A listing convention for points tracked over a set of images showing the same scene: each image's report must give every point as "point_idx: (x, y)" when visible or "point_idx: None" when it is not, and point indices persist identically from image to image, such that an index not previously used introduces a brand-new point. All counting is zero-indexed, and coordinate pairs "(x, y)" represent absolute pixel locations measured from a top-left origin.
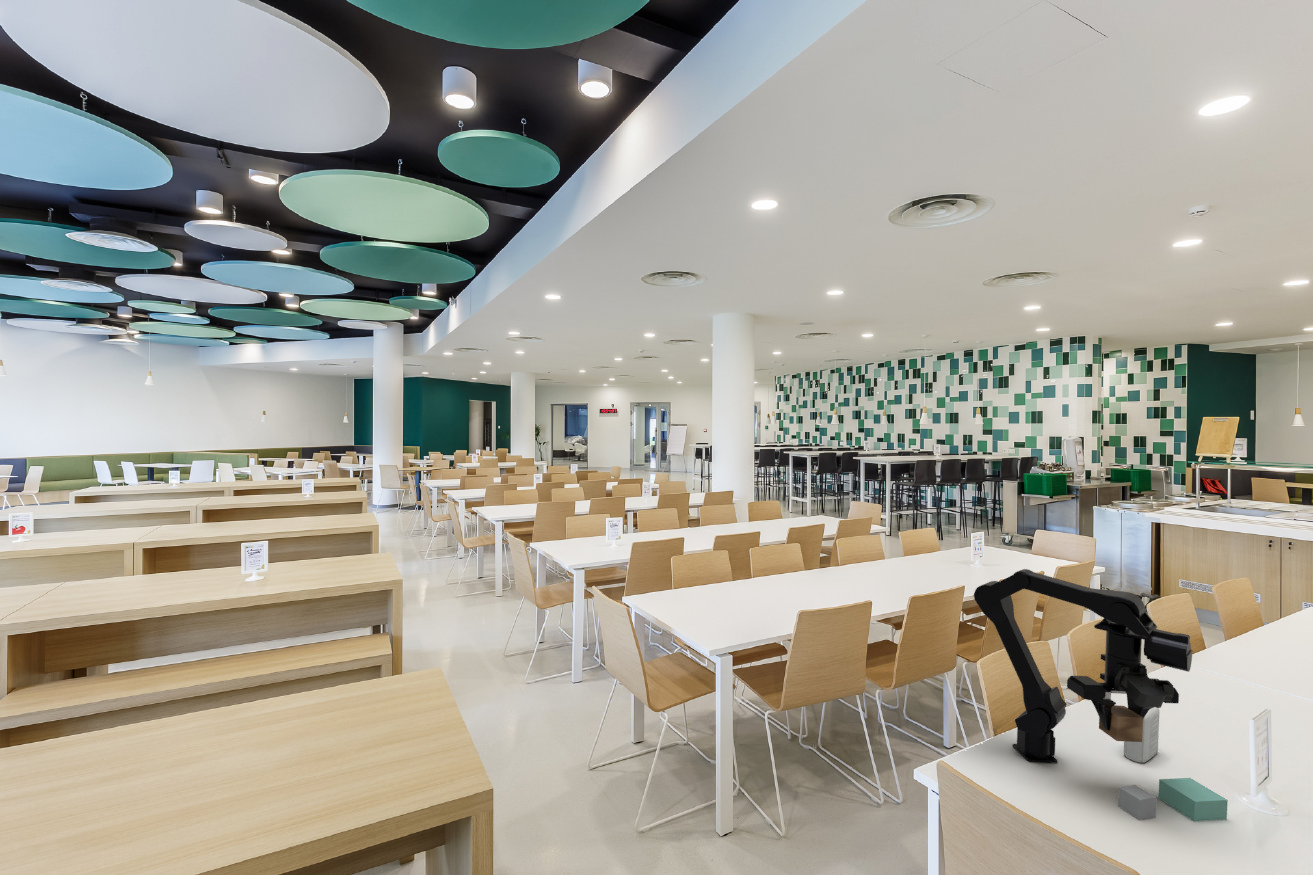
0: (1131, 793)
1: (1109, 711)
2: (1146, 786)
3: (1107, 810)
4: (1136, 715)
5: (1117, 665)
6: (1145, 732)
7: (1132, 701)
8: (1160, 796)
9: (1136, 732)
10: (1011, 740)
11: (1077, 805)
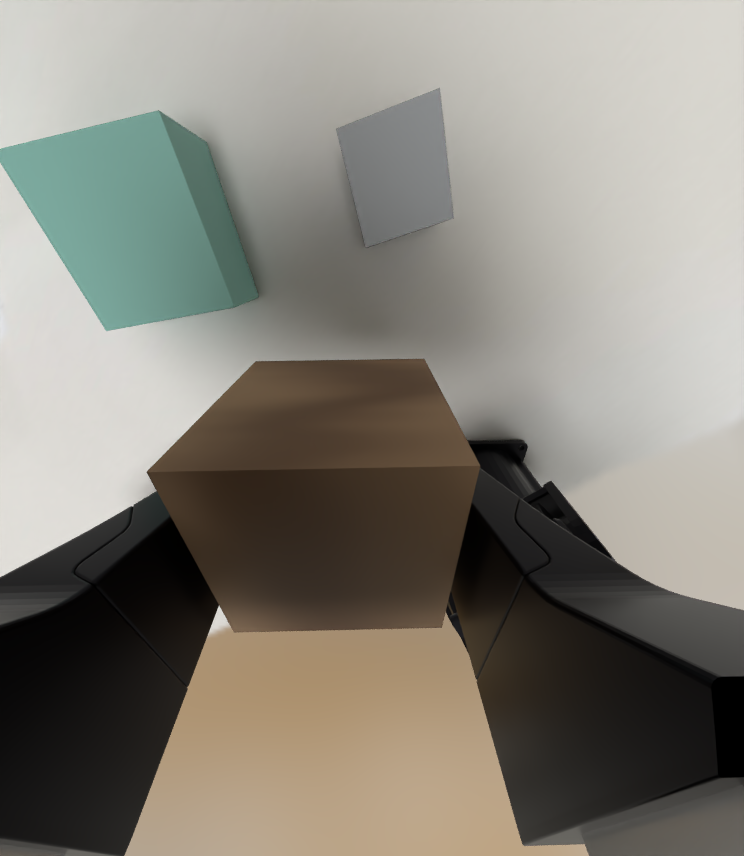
0: (436, 160)
1: (523, 538)
2: (262, 355)
3: (496, 191)
4: (208, 508)
5: None
6: None
7: (141, 698)
8: (253, 290)
9: (279, 385)
10: None
11: (581, 217)
